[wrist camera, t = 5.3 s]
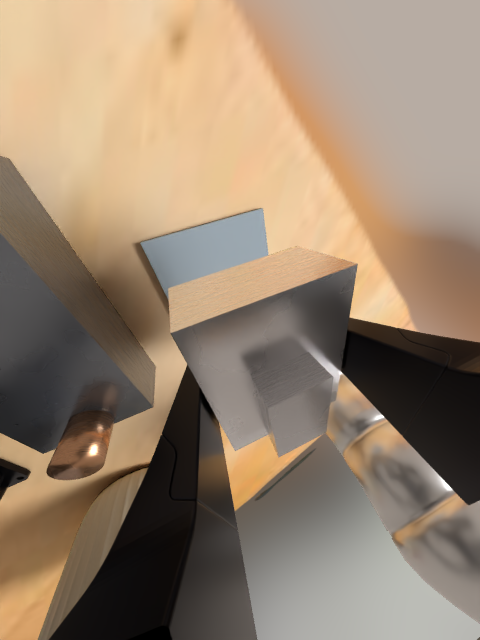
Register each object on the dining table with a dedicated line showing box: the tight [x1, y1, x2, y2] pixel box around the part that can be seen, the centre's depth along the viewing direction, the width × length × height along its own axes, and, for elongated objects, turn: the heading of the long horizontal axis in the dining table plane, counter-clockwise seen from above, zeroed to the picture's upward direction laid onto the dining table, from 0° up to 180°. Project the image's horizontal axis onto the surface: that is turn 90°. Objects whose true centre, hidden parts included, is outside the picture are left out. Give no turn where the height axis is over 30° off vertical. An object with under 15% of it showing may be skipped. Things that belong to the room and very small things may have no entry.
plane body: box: [0, 156, 156, 480], centre depth 9 cm, size 14×7×8 cm, turn 13°
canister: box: [38, 468, 148, 640], centre depth 17 cm, size 18×18×21 cm
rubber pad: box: [140, 208, 268, 300], centre depth 14 cm, size 9×8×1 cm
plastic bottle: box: [326, 372, 480, 624], centre depth 15 cm, size 6×7×20 cm
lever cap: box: [168, 246, 358, 457], centre depth 8 cm, size 7×5×4 cm
